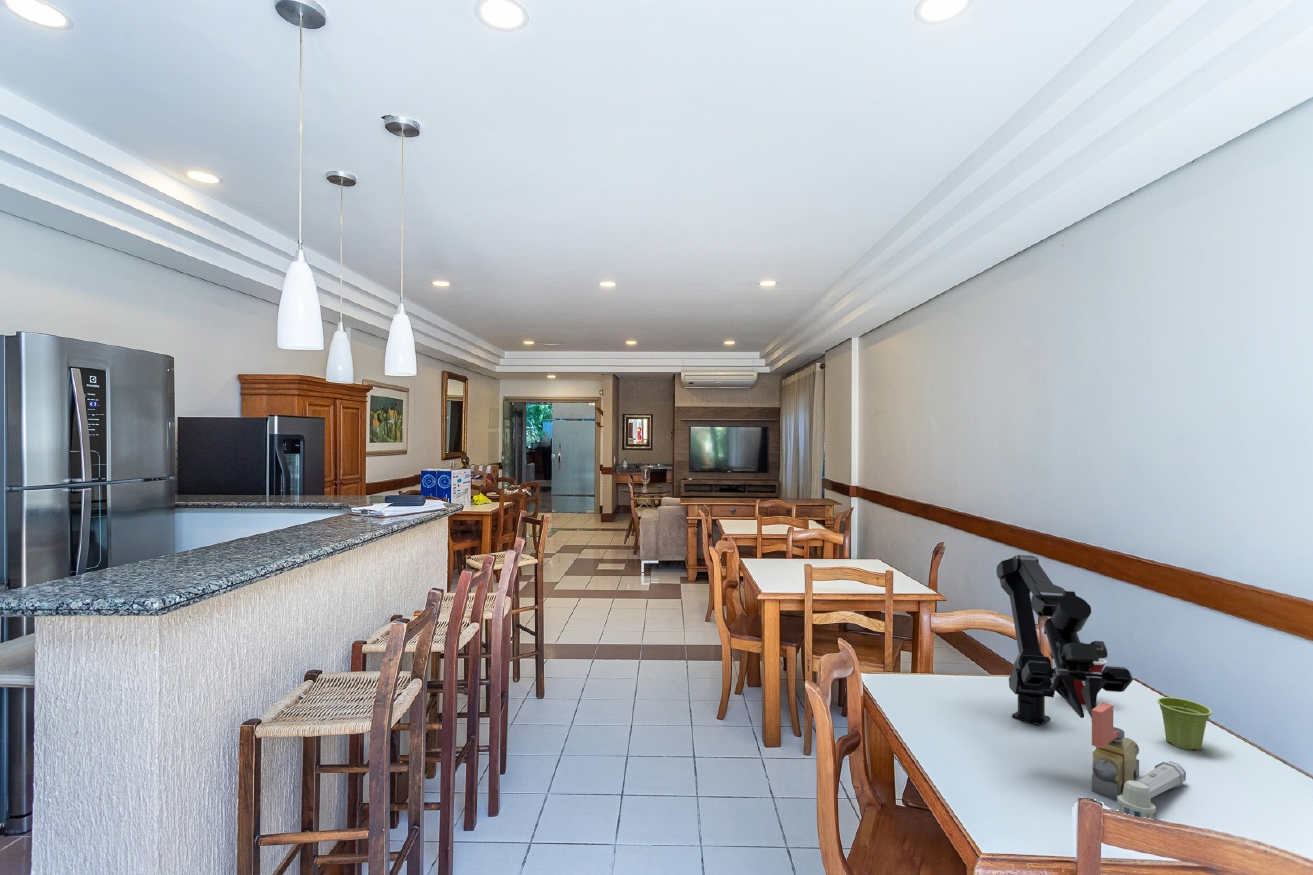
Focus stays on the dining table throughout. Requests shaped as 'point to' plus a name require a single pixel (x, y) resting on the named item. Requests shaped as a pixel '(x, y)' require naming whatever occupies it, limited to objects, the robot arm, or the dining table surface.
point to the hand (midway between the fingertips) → (1088, 717)
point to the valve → (1114, 767)
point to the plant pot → (1184, 722)
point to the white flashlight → (1150, 789)
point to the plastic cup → (1096, 668)
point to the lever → (1104, 726)
